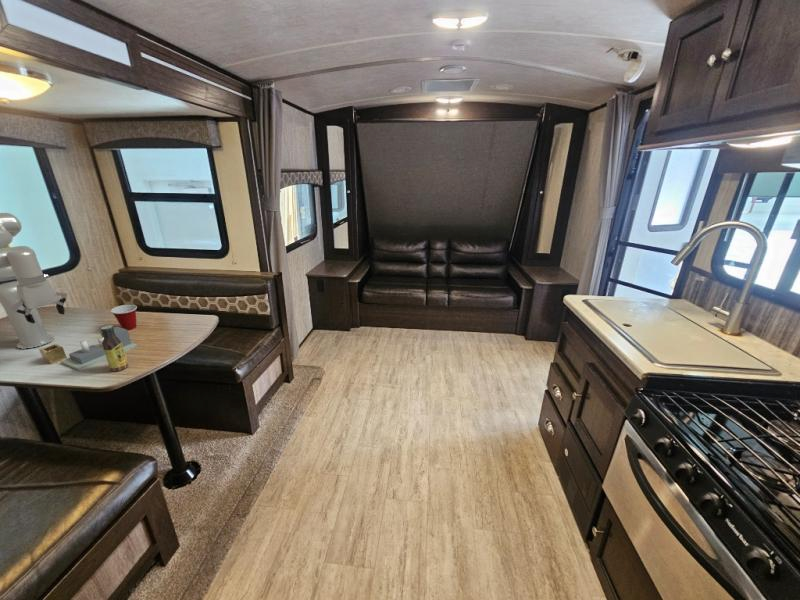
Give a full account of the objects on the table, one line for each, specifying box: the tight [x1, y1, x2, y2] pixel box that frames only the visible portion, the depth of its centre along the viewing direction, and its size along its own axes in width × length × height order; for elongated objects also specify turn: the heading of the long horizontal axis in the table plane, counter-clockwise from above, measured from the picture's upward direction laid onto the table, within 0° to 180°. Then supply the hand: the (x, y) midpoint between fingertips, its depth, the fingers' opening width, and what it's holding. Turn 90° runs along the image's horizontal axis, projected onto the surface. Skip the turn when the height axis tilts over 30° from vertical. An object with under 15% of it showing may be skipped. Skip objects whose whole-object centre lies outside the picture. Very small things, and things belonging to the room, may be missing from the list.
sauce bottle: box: [100, 325, 129, 372], centre depth 139 cm, size 7×6×20 cm
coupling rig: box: [60, 326, 138, 372], centre depth 151 cm, size 14×23×9 cm, turn 157°
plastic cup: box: [110, 304, 138, 331], centre depth 175 cm, size 11×11×12 cm
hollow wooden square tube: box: [39, 343, 68, 365], centre depth 146 cm, size 6×6×6 cm
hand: (47, 318), depth 139 cm, fingers open, 9 cm apart
